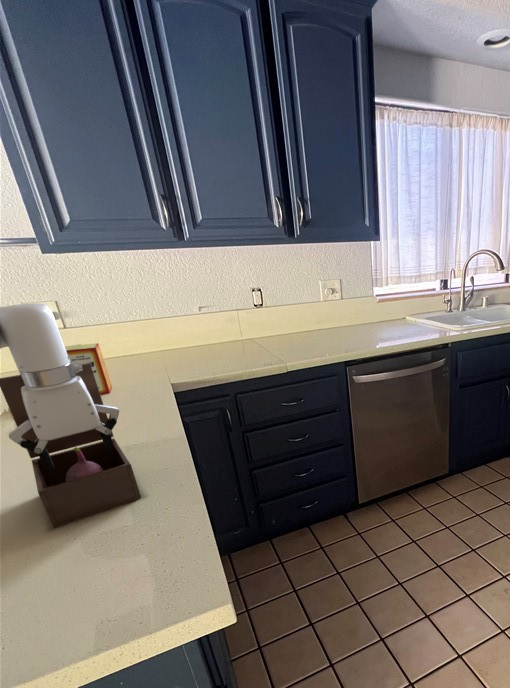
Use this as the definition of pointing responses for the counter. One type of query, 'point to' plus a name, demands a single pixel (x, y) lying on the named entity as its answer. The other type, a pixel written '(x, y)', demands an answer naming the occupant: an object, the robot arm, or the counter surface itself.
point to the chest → (85, 484)
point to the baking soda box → (91, 363)
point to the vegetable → (82, 467)
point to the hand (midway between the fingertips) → (81, 459)
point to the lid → (16, 405)
